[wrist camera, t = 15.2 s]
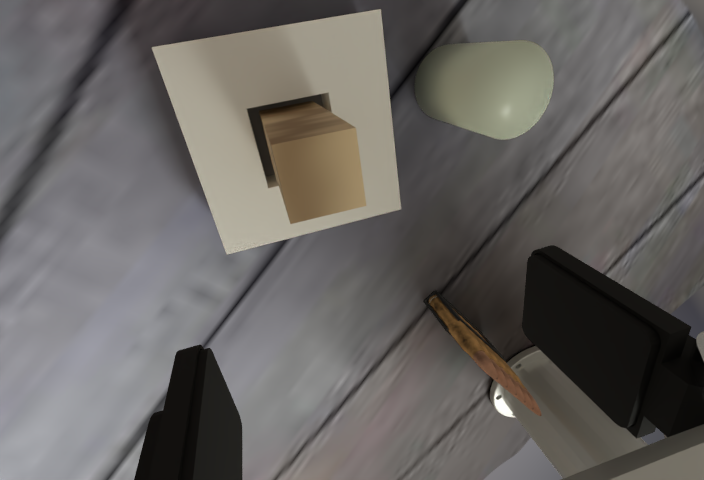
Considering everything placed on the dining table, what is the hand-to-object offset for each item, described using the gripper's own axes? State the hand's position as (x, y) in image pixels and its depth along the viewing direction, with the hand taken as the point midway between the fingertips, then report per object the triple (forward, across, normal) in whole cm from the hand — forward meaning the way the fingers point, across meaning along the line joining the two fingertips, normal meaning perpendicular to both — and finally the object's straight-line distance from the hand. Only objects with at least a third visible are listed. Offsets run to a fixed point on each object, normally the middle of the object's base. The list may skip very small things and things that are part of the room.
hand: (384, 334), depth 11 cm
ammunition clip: (+24, -15, +23) cm, 36 cm away
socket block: (+24, 0, -2) cm, 24 cm away
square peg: (+22, 0, -2) cm, 22 cm away
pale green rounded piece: (+24, -14, -3) cm, 28 cm away
